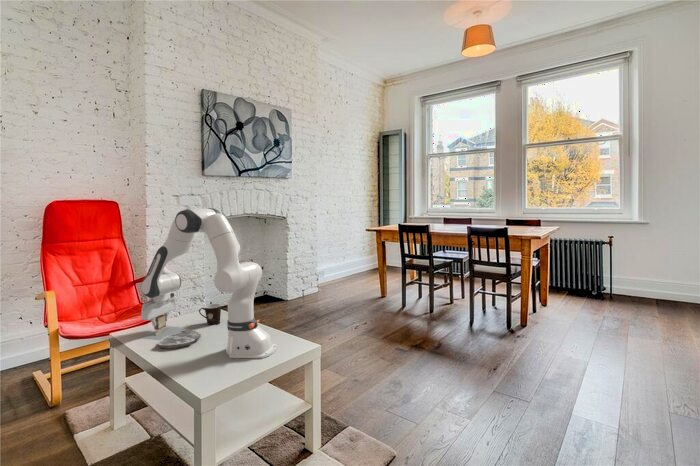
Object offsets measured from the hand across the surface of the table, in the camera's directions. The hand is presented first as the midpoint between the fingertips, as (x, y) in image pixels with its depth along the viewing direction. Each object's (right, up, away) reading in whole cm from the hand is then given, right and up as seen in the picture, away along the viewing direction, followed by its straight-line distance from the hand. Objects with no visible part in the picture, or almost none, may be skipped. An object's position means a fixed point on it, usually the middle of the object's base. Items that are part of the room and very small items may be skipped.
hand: (160, 323), depth 189 cm
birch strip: (+1, -5, 0) cm, 5 cm away
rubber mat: (+2, -5, 0) cm, 5 cm away
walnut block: (0, -2, 0) cm, 2 cm away
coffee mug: (+21, -4, +15) cm, 26 cm away
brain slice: (+17, -7, -13) cm, 22 cm away
